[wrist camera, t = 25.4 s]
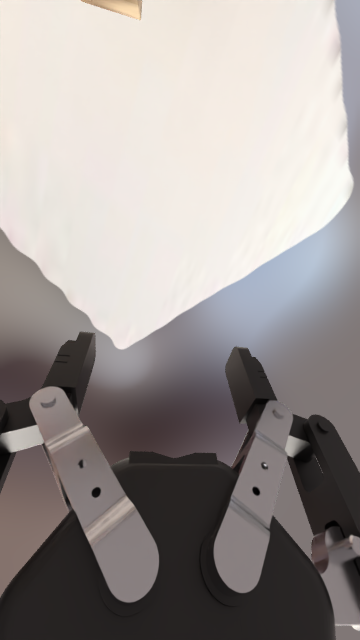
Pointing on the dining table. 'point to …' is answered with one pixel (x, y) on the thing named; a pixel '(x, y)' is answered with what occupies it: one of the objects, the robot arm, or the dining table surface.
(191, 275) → the dining table surface
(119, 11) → the tan wooden molding strip
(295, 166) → the dining table surface
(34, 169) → the dining table surface
